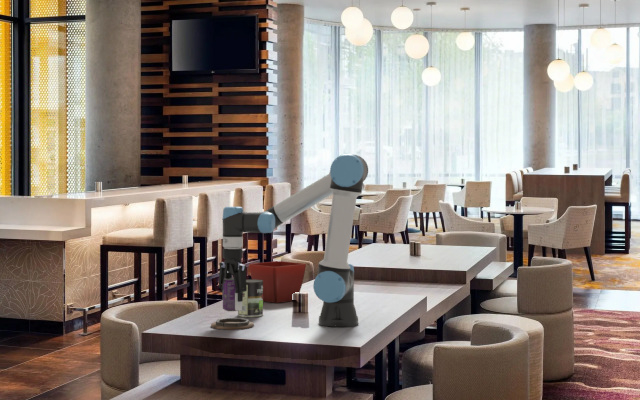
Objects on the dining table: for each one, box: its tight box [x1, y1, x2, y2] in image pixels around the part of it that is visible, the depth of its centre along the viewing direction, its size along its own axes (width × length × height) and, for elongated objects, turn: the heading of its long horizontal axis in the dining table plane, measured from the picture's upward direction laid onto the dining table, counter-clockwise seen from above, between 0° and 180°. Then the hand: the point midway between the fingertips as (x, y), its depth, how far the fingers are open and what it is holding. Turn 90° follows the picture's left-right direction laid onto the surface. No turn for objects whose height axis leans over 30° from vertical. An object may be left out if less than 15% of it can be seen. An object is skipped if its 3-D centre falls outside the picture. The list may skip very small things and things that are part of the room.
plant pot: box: [248, 260, 307, 304], centre depth 377 cm, size 19×19×17 cm
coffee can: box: [237, 278, 264, 318], centre depth 337 cm, size 10×10×14 cm
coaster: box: [210, 317, 255, 331], centre depth 312 cm, size 16×16×2 cm
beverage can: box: [222, 276, 239, 312], centre depth 312 cm, size 7×7×12 cm
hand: (232, 308), depth 312 cm, fingers closed on beverage can, 7 cm apart
